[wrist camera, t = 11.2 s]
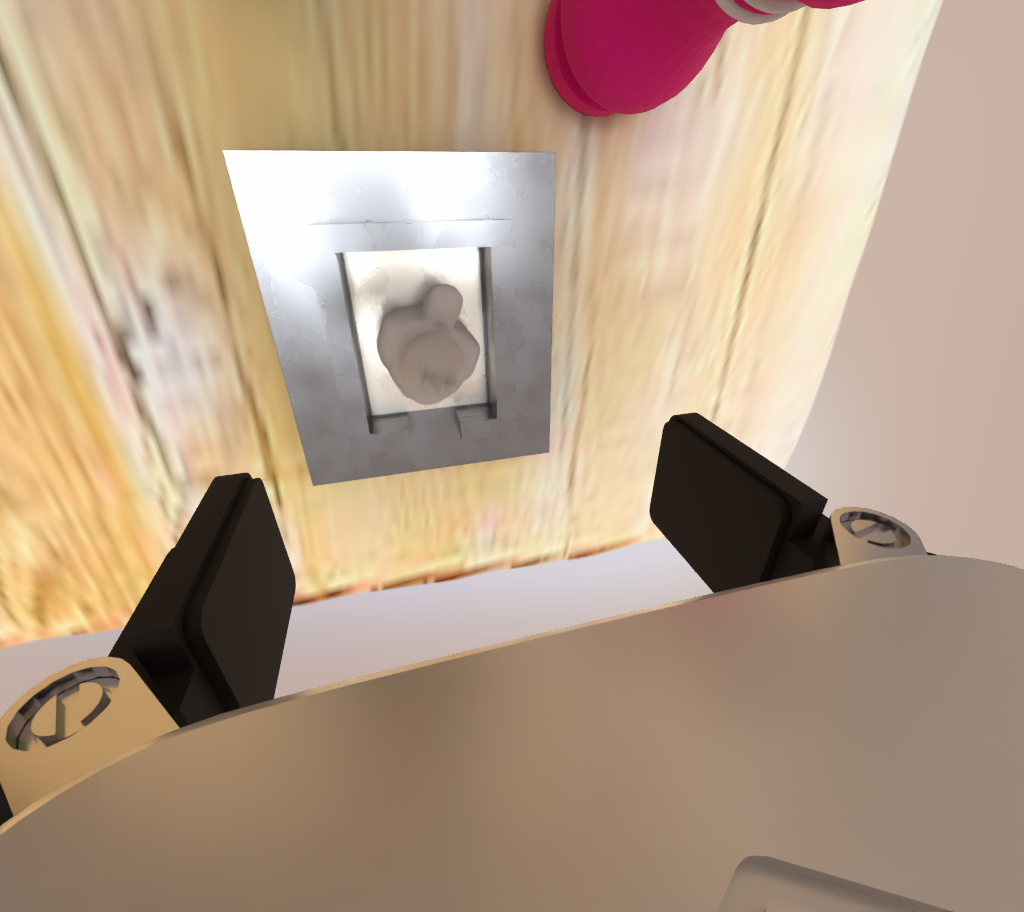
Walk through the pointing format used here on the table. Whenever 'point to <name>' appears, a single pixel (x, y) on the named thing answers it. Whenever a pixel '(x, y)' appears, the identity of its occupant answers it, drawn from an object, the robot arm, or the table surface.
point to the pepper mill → (643, 46)
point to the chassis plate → (403, 297)
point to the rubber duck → (428, 346)
